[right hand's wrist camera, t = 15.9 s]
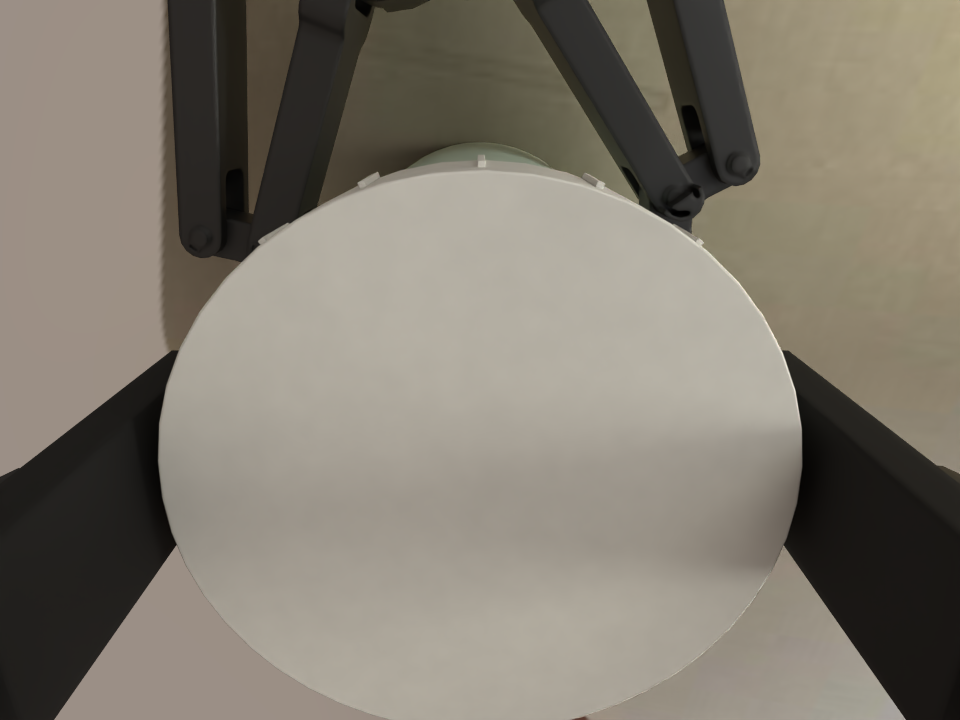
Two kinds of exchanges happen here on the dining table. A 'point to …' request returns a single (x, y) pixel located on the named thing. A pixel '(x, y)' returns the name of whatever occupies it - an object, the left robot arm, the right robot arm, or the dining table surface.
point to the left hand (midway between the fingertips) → (497, 426)
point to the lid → (480, 446)
